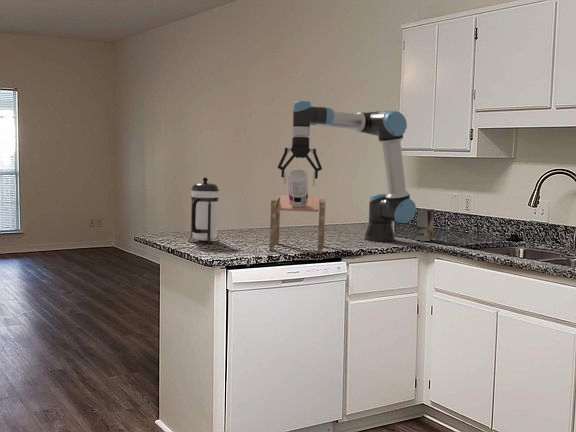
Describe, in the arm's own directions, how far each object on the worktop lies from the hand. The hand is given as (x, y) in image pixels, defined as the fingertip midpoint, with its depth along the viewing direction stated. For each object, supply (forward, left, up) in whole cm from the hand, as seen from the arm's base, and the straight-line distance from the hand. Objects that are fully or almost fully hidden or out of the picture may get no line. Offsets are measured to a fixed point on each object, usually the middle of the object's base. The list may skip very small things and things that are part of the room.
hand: (299, 185), depth 305 cm
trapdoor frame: (0, -4, -28) cm, 29 cm away
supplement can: (0, 0, -8) cm, 8 cm away
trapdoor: (0, -5, -10) cm, 11 cm away
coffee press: (+44, -9, -29) cm, 53 cm away
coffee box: (-62, -49, -29) cm, 84 cm away
